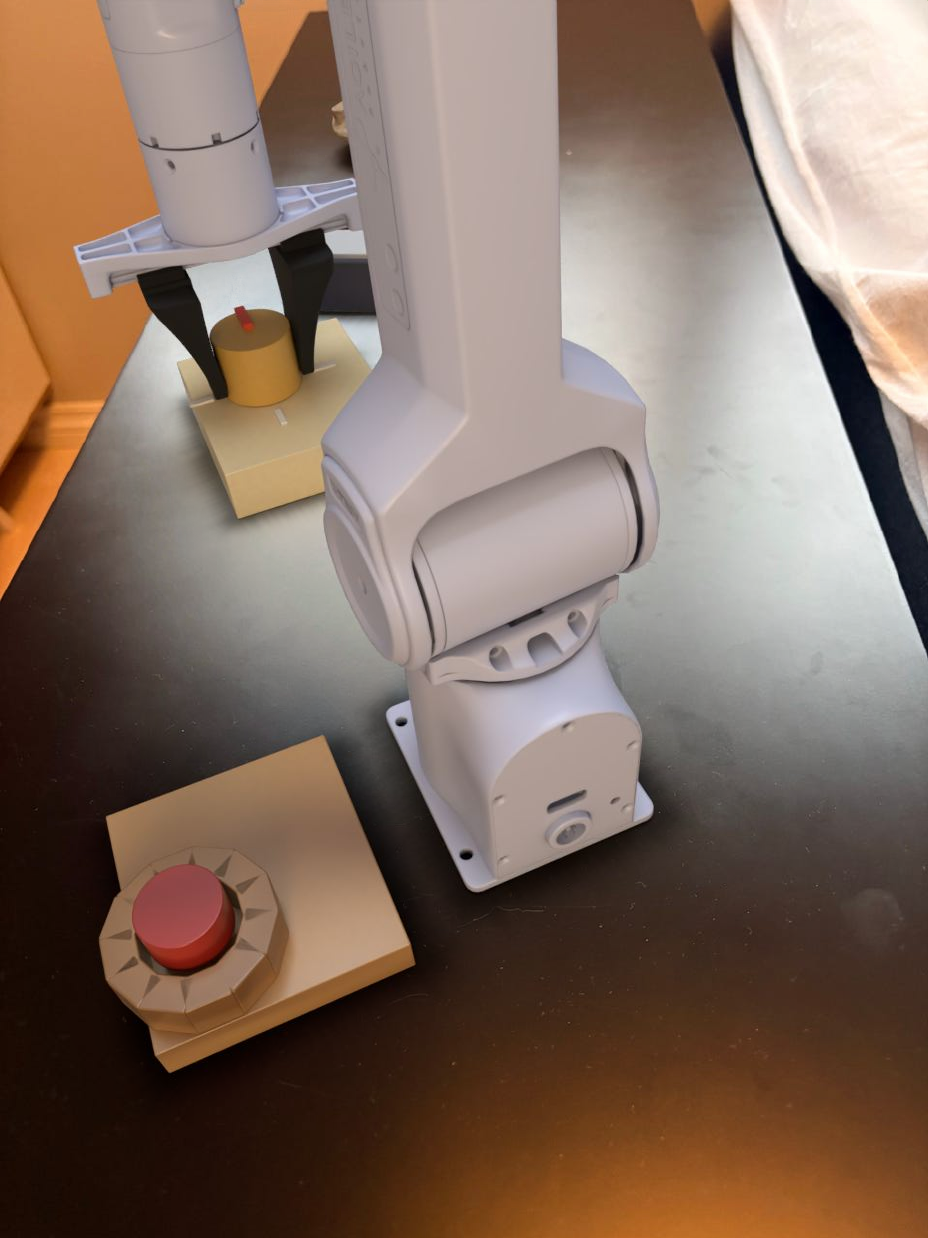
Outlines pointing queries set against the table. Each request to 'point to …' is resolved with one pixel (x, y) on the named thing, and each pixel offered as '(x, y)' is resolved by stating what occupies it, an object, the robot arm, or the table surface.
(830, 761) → the table surface
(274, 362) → the dimmer knob
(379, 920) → the button base
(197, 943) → the power button
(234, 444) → the panel
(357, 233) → the calculator
